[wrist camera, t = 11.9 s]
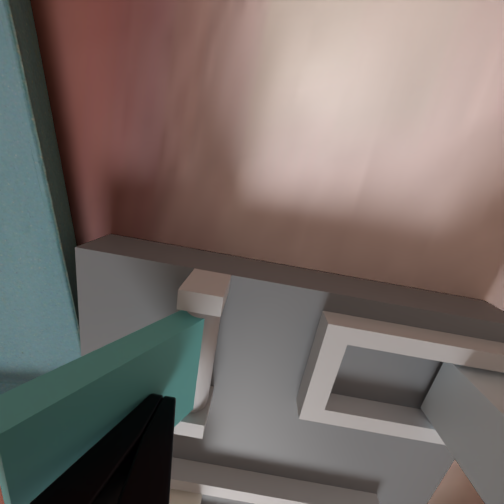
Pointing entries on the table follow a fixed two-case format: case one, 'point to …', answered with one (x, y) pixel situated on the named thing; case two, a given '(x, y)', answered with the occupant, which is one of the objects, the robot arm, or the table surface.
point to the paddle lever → (100, 398)
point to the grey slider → (471, 424)
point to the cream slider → (184, 497)
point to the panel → (295, 371)
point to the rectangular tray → (32, 215)
